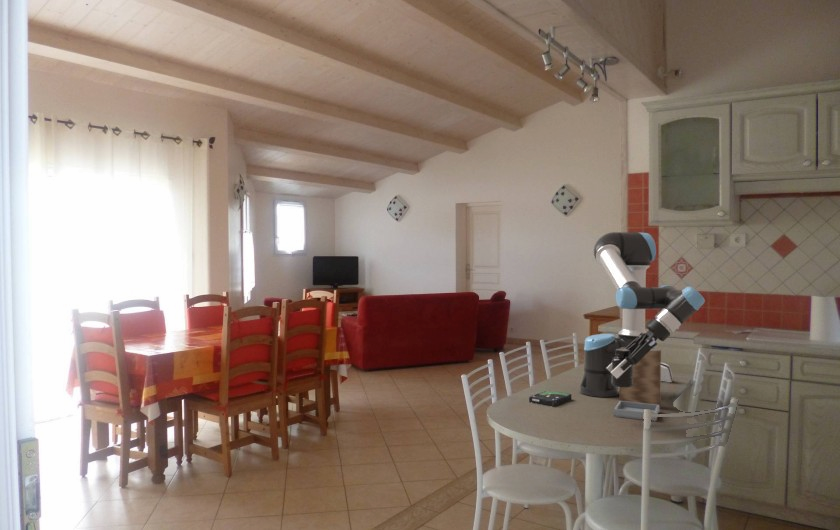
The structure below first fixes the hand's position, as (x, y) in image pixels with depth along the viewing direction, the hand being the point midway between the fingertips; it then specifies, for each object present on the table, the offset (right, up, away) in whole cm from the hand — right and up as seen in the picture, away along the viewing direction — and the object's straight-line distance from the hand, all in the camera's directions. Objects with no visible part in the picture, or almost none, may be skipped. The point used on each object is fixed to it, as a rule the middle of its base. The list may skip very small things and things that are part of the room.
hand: (611, 373), depth 203 cm
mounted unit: (+18, -16, +22) cm, 33 cm away
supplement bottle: (+4, -4, 0) cm, 6 cm away
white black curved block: (+40, -16, +68) cm, 81 cm away
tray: (+12, -16, +10) cm, 22 cm away
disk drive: (-14, -16, +28) cm, 35 cm away
